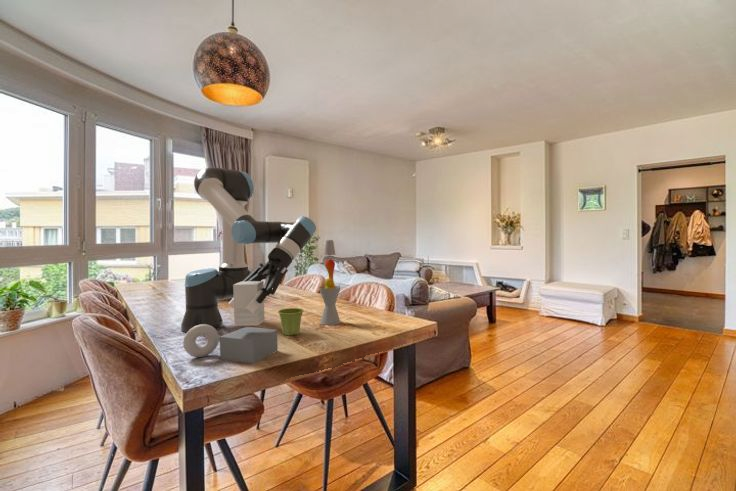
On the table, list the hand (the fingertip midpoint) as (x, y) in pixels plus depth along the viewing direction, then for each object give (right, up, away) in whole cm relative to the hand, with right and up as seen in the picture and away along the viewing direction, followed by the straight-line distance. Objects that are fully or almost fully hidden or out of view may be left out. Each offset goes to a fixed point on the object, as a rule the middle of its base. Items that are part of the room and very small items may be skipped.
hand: (240, 308), depth 107 cm
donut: (-12, -15, +1) cm, 19 cm away
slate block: (+2, -15, +3) cm, 15 cm away
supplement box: (+2, -5, +2) cm, 6 cm away
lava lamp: (+23, -14, +43) cm, 50 cm away
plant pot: (+10, -14, +26) cm, 31 cm away
